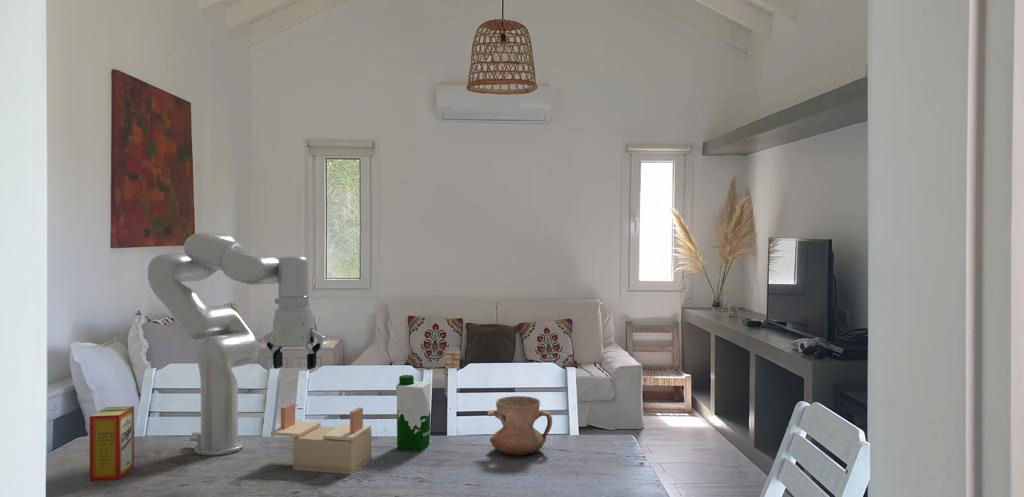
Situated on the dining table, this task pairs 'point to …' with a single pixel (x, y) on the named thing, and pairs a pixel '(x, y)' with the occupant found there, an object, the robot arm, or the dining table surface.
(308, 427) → the flap
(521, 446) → the ceramic jug
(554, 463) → the dining table surface
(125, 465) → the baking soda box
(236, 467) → the dining table surface
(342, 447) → the carton
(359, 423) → the flap
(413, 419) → the soya milk
